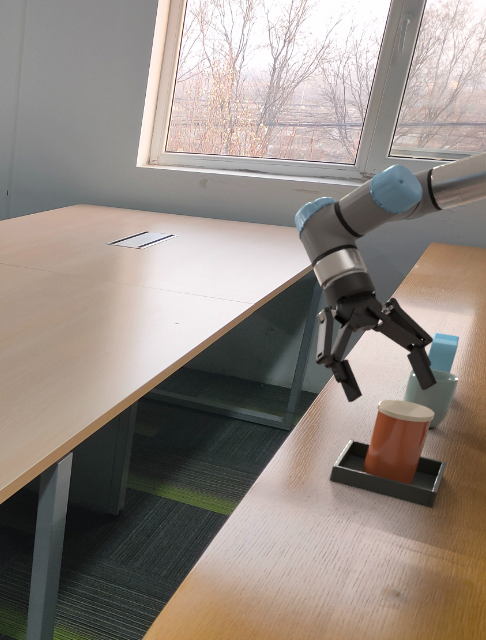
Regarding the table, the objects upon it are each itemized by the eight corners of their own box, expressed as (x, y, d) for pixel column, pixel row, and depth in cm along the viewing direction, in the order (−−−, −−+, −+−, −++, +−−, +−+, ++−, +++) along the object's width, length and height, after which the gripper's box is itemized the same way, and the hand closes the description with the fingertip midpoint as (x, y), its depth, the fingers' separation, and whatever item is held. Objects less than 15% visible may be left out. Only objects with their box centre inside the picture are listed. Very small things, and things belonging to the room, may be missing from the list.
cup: (447, 434, 149) (463, 383, 145) (400, 427, 151) (415, 377, 148) (438, 420, 156) (453, 371, 152) (394, 413, 158) (407, 365, 154)
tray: (441, 479, 130) (446, 462, 129) (431, 511, 119) (436, 492, 118) (346, 455, 138) (350, 439, 136) (328, 483, 127) (333, 465, 126)
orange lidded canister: (416, 477, 129) (437, 407, 125) (410, 493, 123) (431, 421, 119) (364, 464, 133) (382, 396, 129) (356, 479, 127) (374, 408, 123)
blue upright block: (441, 403, 165) (457, 347, 161) (416, 398, 168) (431, 343, 163) (443, 388, 175) (459, 334, 170) (420, 383, 177) (435, 331, 172)
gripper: (395, 283, 144) (444, 390, 137) (268, 301, 141) (311, 412, 134) (423, 260, 137) (475, 372, 130) (290, 279, 134) (336, 395, 127)
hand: (392, 392), depth 132 cm, fingers open, 13 cm apart
